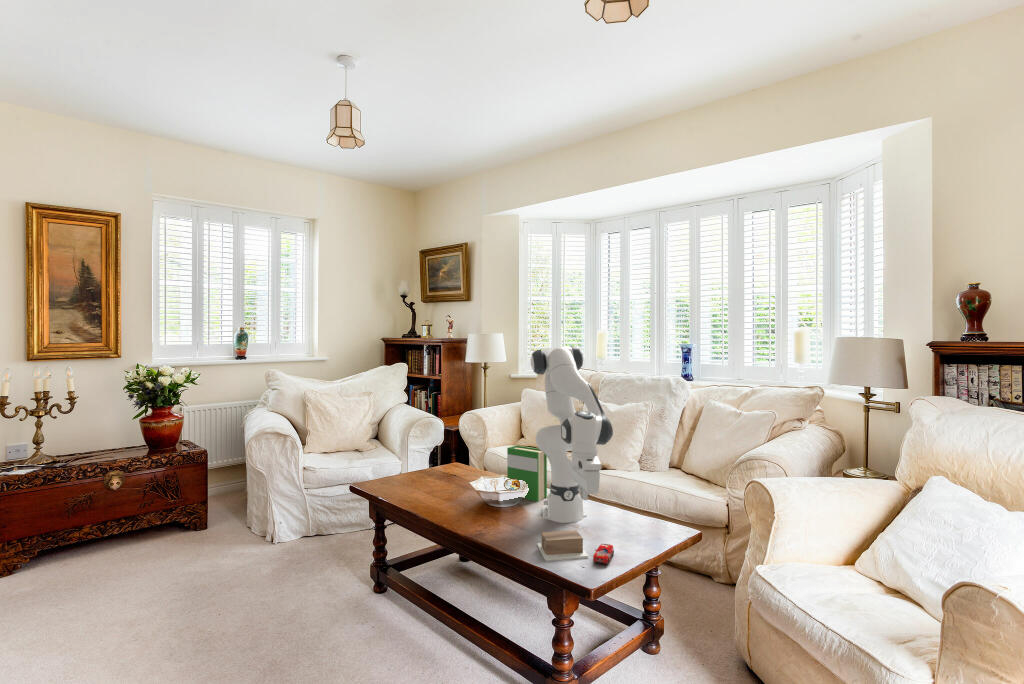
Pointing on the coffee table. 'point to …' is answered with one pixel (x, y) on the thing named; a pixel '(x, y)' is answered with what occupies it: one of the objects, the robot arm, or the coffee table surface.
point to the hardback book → (528, 470)
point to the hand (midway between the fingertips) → (584, 498)
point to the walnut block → (561, 542)
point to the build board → (562, 555)
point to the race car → (603, 553)
